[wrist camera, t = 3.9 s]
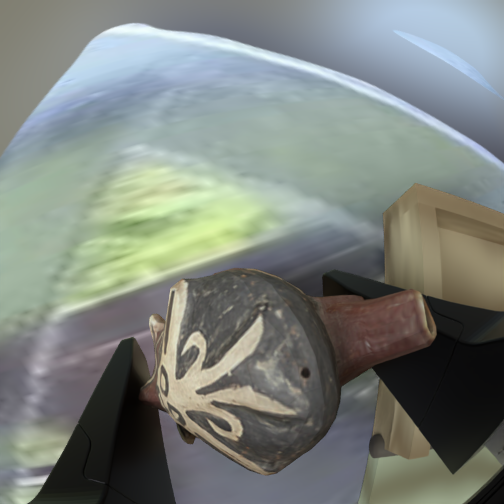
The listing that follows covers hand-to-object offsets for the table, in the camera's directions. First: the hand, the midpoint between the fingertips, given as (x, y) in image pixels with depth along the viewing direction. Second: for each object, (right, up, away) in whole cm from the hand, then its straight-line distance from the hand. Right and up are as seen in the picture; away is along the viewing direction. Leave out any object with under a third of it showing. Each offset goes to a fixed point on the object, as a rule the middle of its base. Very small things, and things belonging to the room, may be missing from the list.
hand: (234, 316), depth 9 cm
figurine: (0, -3, +6) cm, 7 cm away
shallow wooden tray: (+15, -7, +7) cm, 17 cm away
